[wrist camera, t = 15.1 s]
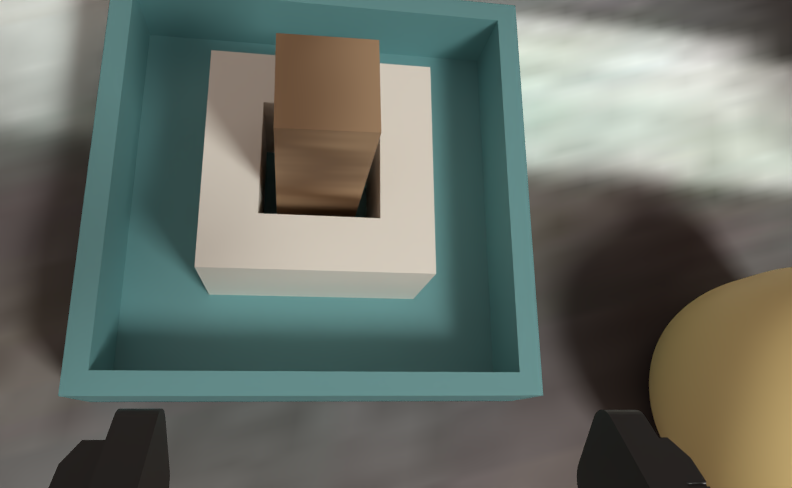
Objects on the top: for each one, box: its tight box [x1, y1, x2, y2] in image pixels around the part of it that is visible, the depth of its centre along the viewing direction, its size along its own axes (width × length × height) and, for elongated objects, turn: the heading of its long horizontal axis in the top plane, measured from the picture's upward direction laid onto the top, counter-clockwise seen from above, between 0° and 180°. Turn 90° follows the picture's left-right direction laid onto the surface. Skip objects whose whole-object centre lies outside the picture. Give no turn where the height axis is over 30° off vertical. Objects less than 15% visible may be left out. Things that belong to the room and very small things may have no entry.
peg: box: [274, 33, 381, 217], centre depth 28 cm, size 4×4×12 cm
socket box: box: [58, 0, 543, 402], centre depth 32 cm, size 20×20×6 cm
